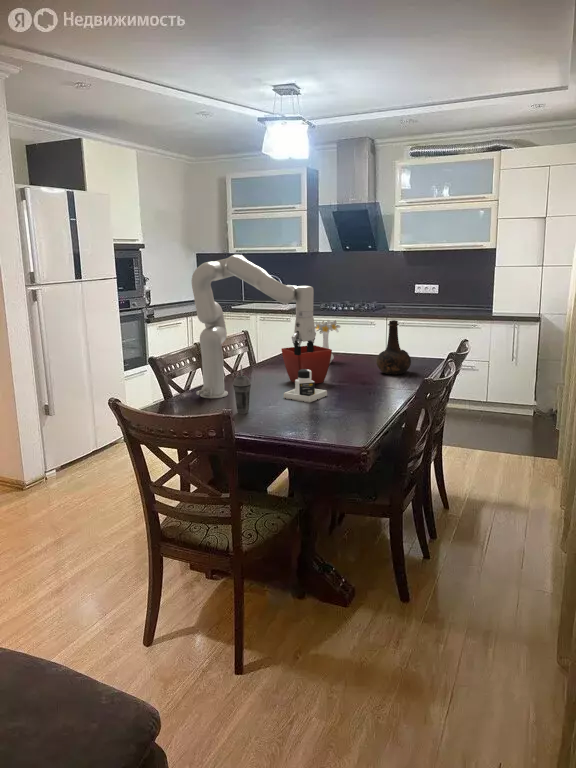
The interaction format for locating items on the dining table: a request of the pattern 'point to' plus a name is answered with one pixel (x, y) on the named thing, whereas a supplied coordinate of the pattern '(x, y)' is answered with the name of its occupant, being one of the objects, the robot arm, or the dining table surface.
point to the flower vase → (326, 331)
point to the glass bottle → (393, 354)
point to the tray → (304, 398)
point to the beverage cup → (242, 393)
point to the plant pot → (307, 362)
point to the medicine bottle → (304, 383)
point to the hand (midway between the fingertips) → (303, 353)
